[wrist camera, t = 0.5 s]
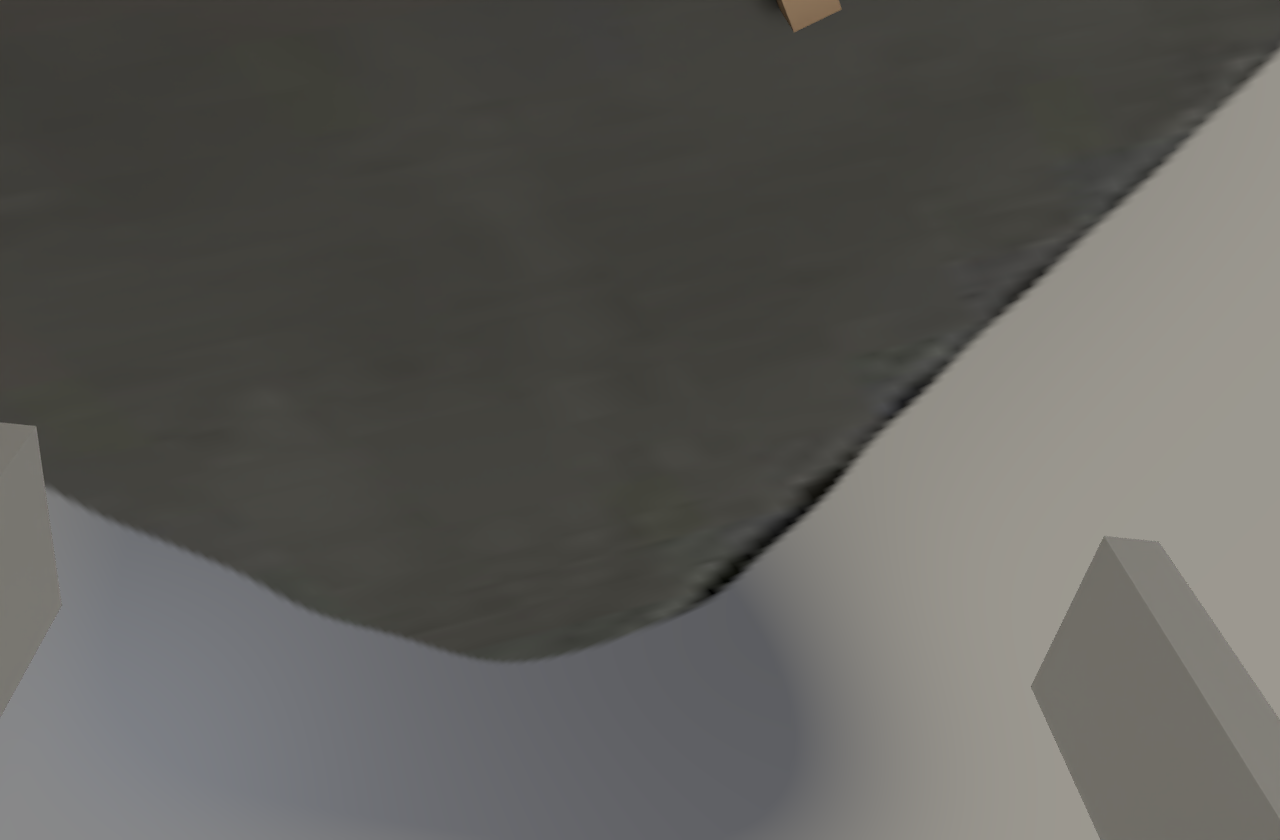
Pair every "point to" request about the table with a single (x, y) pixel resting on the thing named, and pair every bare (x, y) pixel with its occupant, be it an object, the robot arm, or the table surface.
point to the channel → (807, 11)
